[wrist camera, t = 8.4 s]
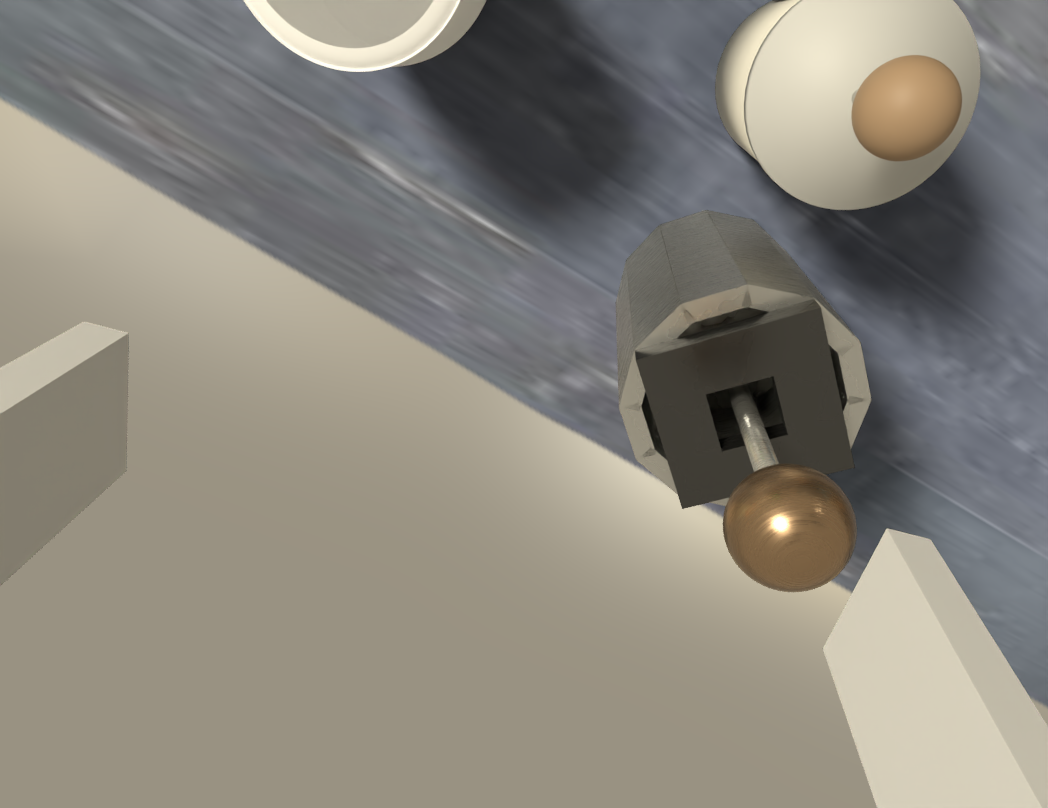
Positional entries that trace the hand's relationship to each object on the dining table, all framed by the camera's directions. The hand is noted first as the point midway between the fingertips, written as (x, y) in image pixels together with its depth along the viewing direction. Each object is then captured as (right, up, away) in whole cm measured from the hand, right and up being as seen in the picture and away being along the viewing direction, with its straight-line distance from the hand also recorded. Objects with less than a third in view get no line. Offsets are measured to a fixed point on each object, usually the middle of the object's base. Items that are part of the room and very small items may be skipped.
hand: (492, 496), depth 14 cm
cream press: (+16, +21, +31) cm, 41 cm away
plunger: (+11, +5, +31) cm, 33 cm away
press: (+13, +7, +38) cm, 41 cm away
